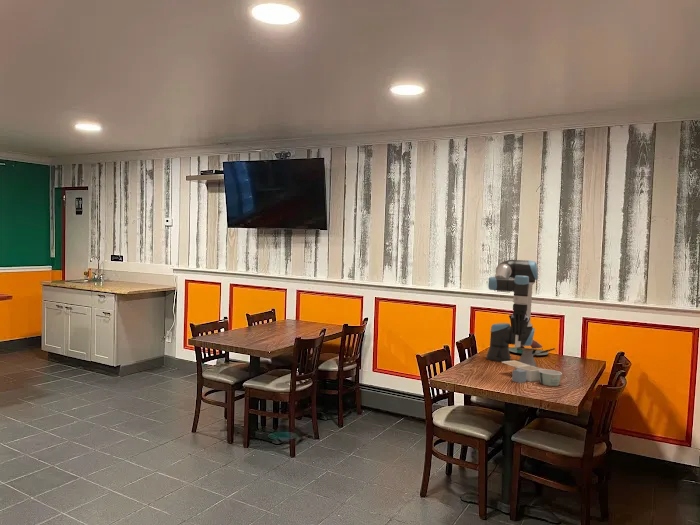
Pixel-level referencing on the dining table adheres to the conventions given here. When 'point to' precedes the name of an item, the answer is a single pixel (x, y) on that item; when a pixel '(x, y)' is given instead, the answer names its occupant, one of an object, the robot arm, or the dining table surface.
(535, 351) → the sailing ship model
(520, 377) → the block
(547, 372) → the food container
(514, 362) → the lid
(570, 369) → the dining table surface
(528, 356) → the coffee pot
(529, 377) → the mailer base
